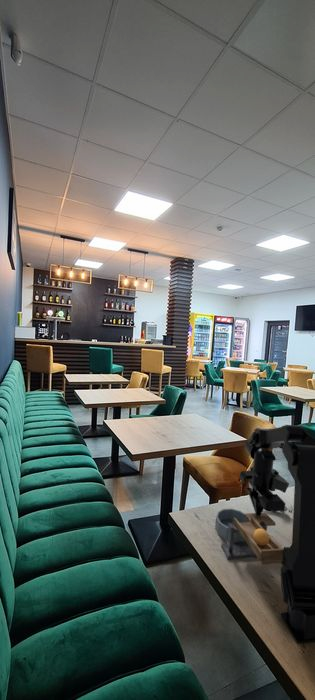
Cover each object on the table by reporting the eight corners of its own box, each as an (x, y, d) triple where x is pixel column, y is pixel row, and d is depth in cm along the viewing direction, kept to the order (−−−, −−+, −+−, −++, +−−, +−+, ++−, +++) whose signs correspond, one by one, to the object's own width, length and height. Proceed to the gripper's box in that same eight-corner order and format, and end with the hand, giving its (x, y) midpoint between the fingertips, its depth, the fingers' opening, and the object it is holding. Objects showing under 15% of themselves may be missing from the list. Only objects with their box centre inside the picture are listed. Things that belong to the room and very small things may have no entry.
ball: (272, 533, 81) (264, 525, 85) (258, 534, 80) (251, 525, 84) (271, 548, 81) (264, 539, 85) (257, 549, 80) (250, 540, 84)
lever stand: (269, 556, 89) (272, 529, 88) (227, 559, 87) (230, 531, 86) (261, 544, 94) (264, 518, 93) (221, 546, 92) (223, 520, 91)
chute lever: (310, 561, 78) (310, 548, 78) (258, 565, 75) (258, 551, 75) (265, 515, 100) (265, 505, 100) (223, 517, 97) (224, 506, 97)
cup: (256, 541, 95) (258, 529, 95) (223, 543, 93) (224, 531, 93) (241, 519, 106) (242, 508, 105) (210, 520, 104) (211, 509, 104)
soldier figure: (259, 502, 118) (292, 502, 114) (260, 516, 115) (295, 516, 110) (254, 495, 114) (289, 494, 109) (255, 509, 110) (291, 508, 106)
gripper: (304, 483, 89) (298, 533, 90) (270, 454, 107) (266, 496, 109) (269, 484, 87) (263, 535, 88) (240, 454, 105) (236, 497, 107)
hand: (257, 514), depth 98 cm, fingers closed, pressing on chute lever
